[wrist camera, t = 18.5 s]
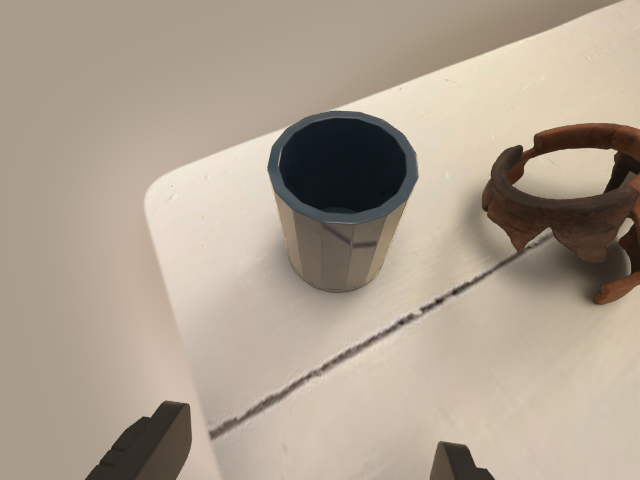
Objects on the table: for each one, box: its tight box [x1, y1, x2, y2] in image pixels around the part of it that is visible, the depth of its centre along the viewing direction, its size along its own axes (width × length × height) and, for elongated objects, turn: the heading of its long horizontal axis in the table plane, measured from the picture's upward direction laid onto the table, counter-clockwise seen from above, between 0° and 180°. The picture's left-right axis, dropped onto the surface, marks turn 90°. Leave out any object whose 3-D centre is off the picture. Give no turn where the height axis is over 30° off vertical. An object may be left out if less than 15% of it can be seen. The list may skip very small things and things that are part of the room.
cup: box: [267, 111, 418, 292], centre depth 17 cm, size 6×6×8 cm
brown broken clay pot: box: [482, 123, 640, 304], centre depth 18 cm, size 12×10×8 cm
